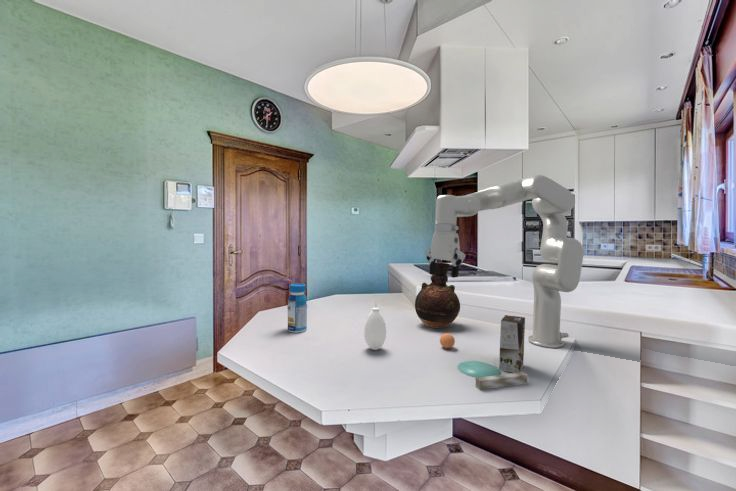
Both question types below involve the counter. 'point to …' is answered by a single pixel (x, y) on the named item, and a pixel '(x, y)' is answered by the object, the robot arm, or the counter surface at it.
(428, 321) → the ceramic vessel
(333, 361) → the counter surface
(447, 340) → the ball
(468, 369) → the teal disc
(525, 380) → the strip
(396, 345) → the counter surface
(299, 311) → the beverage bottle
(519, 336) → the coffee box
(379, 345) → the sauce bottle
